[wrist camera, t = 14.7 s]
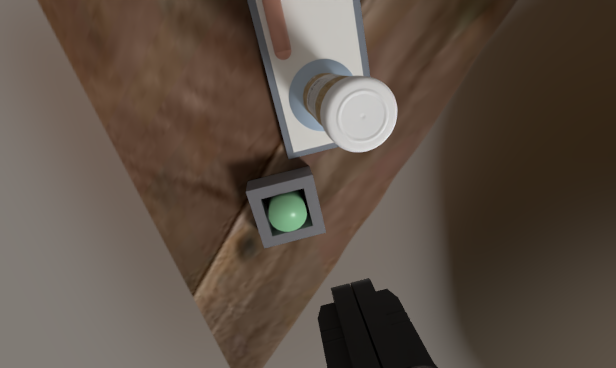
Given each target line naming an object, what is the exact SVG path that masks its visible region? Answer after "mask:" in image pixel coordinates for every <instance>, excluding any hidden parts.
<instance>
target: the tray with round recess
mask: <svg viewBox="0 0 616 368" xmlns="http://www.w3.org/2000/svg"><path fill="white" fill-rule="evenodd" d="M247 1H248V5H249V9H250V12H251V16H252V20H253V24H254V28H255V32H256V36H257V39H258V43H259V47H260V51H261V55H262V59H263V63H264V66H265V70H266V74H267V78H268V82H269V86H270V89H271V93H272V97H273V101H274V105H275V109H276V113H277V116H278V120H279V124H280V128H281V132H282V136H283V140H284V143H285V147H286V151H287V155H288V159H292V158H296V157H300V156H304V155H308V154H312V153H316V152H319V151H323V150H327V149H331V148H335V147H339V146H338V145H337V144H335V143H334V142H333V141H332V140H331V139H330V138H329V137H328V135H327V134H326V132H325V131H324V129H323V127H322V126H321V125H320V124H319V123H318V122H317V121H316V119H315V118H314V117H313V116H312V115H311V114H310V113H308V111H307V110H306V108H305V106H304V103H303V102H304V101H303V92H304V88H305V86H306V85H307V83H308V81H309V80H310V79H311V78H312V77H314V76H316V75H318V74H321V73H331V74H336V75H344V76H367V77H370V72H369V64H368V57H367V50H366V42H365V35H364V27H363V20H362V13H361V5H360V0H281V4H282V8H283V13H284V17H285V22H286V27H287V31H288V36H289V40H290V45H291V50H292V51H291V55H290V57H289V58H288V59H286V60H280V59H278V58H277V57H276V56H275V53H274V49H273V45H272V41H271V37H270V33H269V29H268V24H267V20H266V16H265V12H264V8H263V4H262V0H247Z"/></svg>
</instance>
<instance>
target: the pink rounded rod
mask: <svg viewBox="0 0 616 368" xmlns="http://www.w3.org/2000/svg"><path fill="white" fill-rule="evenodd" d="M262 4H263V8H264V12H265V16H266V20H267V24H268V29H269V33H270V37H271V41H272V45H273V49H274V53H275V56H276V57H277V58H278V59H280V60H286V59H288V58H289V57H290V55H291V51H292V50H291V45H290V40H289V36H288V31H287V27H286V22H285V17H284V13H283V8H282V4H281V0H262Z"/></svg>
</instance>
